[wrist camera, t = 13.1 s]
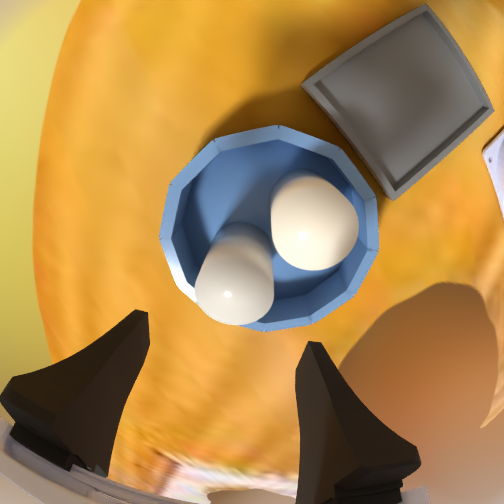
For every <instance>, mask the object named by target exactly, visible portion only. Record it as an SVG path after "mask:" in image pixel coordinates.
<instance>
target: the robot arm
mask: <svg viewBox="0 0 504 504" xmlns="http://www.w3.org/2000/svg"><path fill="white" fill-rule="evenodd" d="M482 155H483V158H484V161H485V163H486V166H487V168H488V171H489V174H490V177H491V179H492V182H493V185H494V188H495V191H496V194H497V198H498V201H499V204H500V208H501V211H502V215H503V219H504V129H503V130H502V131H501V132H500V133H499V134H498V135H497V136H496V138H495V139H494V140H493V141H492V142H491V143H490V144H489V145H488V146H487V147H486V148H485V149H484V150H483V153H482ZM149 346H150V338H149V322H148V312H144V311H140V310H136V309H135V310H134V311H133V312H131V313H130V314H129V315H128V316H126V317H125V318H124V319H123V320H122V321H120V322H119V323H118V324H117V325H116V326H114V327H113V328H112V329H110V330H109V331H108V332H107V333H105V334H104V335H103V336H101V337H100V338H99V339H97V340H96V341H94V342H93V343H92V344H90V345H89V346H87V347H86V348H84V349H82V350H81V351H79V352H77V353H76V354H74V355H72V356H70V357H68V358H66V359H64V360H62V361H60V362H58V363H56V364H53V365H51V366H48V367H46V368H43V369H40V370H37V371H34V372H31V373H27V374H23V375H18V376H14V377H12V378H11V380H10V381H9V383H8V384H7V386H6V387H5V389H4V390H3V392H2V393H1V395H0V402H1V404H2V406H3V407H4V408H5V410H6V411H7V412H8V413H9V415H10V416H11V417H12V418H13V419H14V420H15V422H16V423H15V424H14V426H12V425H11V424H10V423H9V422H7V421H6V420H5V419H3V418H2V417H0V474H1V475H3V476H4V477H5V478H7V479H8V480H9V481H10V482H12V483H13V484H14V485H16V486H17V487H19V488H20V489H21V490H23V491H24V492H26V493H27V494H29V495H30V496H32V497H33V498H35V499H37V500H38V501H39V502H41V503H43V504H124V503H122V502H119V501H117V500H115V499H112V498H110V497H108V496H111V497H114V498H117V499H119V500H122V501H125V502H128V503H131V504H197V503H191V502H186V501H181V500H176V499H172V498H168V497H164V496H160V495H156V494H152V493H149V492H145V491H142V490H138V489H135V488H132V487H129V486H126V485H123V484H120V483H117V482H115V481H112V480H109V479H107V478H106V477H108V472H109V466H110V460H111V454H112V450H113V445H114V441H115V437H116V433H117V429H118V425H119V422H120V418H121V415H122V412H123V409H124V406H125V403H126V401H127V398H128V396H129V394H130V392H131V389H132V387H133V385H134V383H135V381H136V379H137V377H138V375H139V372H140V370H141V368H142V366H143V364H144V361H145V358H146V355H147V352H148V349H149ZM295 391H296V400H297V409H298V418H299V426H300V464H299V478H298V488H297V496H296V503H295V504H431V502H430V498H429V493H428V489H427V486H426V485H424V486H420V487H417V488H414V489H410V490H407V491H404V492H402V493H401V492H400V488H401V487H403V483H402V479H404V478H405V477H407V476H409V475H410V474H412V473H413V472H415V471H416V470H417V469H418V468H419V467H420V466H421V460H420V456H419V453H418V450H417V447H416V446H414V445H413V444H411V443H409V442H408V441H406V440H405V439H403V438H402V437H400V436H399V435H397V434H396V433H395V432H393V431H392V430H391V429H389V428H388V427H387V426H386V425H385V424H383V423H382V422H381V421H380V420H379V419H378V418H377V417H376V416H375V415H374V414H372V412H370V410H369V409H368V408H367V407H366V406H365V405H364V404H363V403H362V402H361V401H360V400H359V398H358V397H357V396H356V395H355V393H354V392H353V391H352V389H351V388H350V387H349V385H348V384H347V383H346V381H345V380H344V378H343V377H342V375H341V374H340V372H339V371H338V369H337V368H336V366H335V364H334V363H333V361H332V360H331V358H330V356H329V355H328V353H327V351H326V350H325V348H324V346H323V345H322V343H321V342H312V341H308V343H307V345H306V348H305V350H304V352H303V355H302V357H301V359H300V361H299V364H298V366H297V368H296V375H295ZM99 492H101V493H103V494H106V495H108V496H105V495H103V494H101V493H99Z"/></svg>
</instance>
